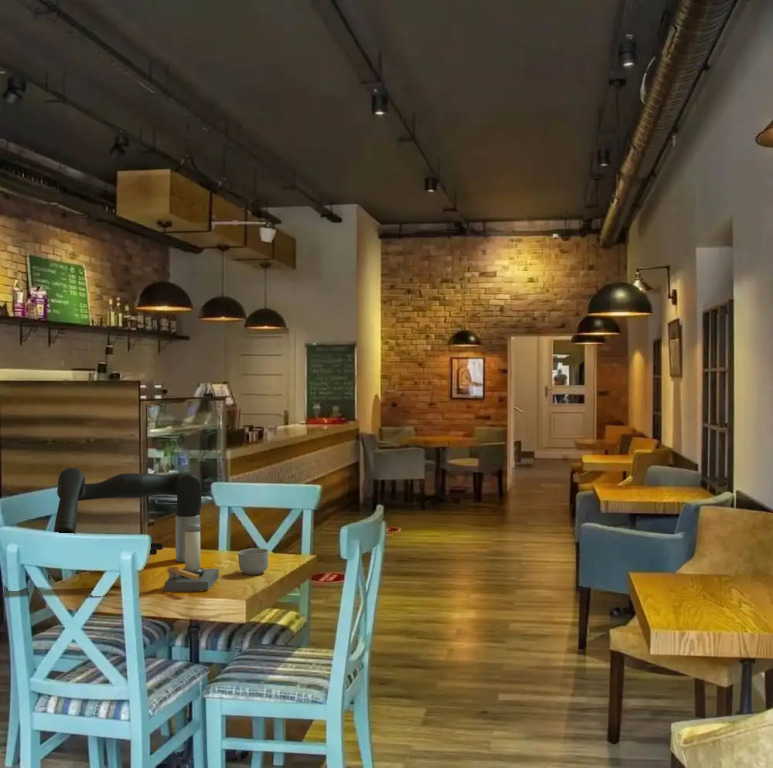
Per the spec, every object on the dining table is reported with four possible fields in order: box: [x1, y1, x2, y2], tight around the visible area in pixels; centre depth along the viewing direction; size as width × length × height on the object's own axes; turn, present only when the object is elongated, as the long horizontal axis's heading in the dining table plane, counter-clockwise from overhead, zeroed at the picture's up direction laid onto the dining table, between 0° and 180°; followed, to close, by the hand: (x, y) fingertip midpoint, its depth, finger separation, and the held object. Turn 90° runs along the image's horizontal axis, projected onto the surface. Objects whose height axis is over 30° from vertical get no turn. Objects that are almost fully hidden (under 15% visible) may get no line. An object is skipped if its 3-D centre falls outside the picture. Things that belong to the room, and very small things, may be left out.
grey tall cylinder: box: [181, 523, 205, 577], centre depth 292 cm, size 8×8×20 cm
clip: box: [166, 566, 199, 580], centre depth 283 cm, size 3×18×1 cm, turn 42°
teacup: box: [237, 547, 269, 576], centre depth 310 cm, size 14×11×8 cm
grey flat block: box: [164, 568, 220, 592], centre depth 292 cm, size 20×14×5 cm
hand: (159, 548), depth 292 cm, fingers open, 8 cm apart
